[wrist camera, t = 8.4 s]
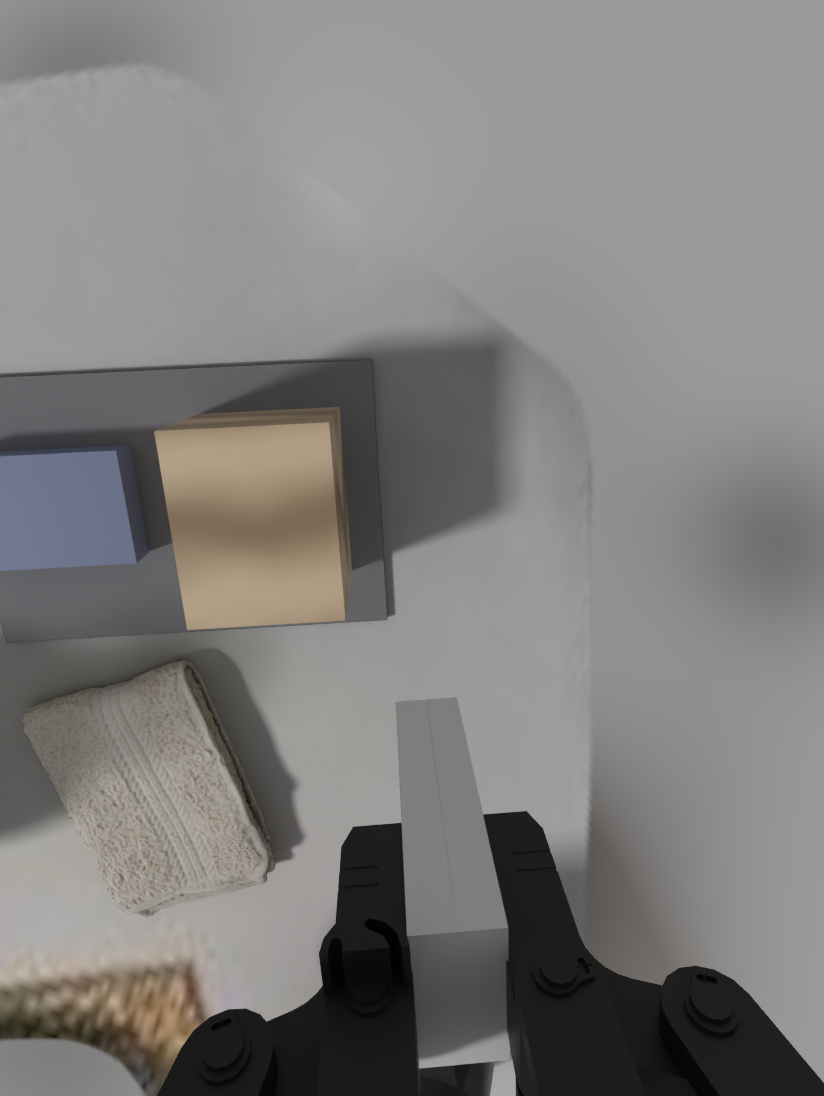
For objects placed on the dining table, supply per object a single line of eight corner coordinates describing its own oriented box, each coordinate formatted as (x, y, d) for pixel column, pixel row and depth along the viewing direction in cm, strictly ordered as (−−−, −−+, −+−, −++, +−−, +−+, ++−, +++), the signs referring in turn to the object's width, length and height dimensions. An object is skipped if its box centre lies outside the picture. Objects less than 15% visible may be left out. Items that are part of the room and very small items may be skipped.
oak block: (352, 568, 40) (345, 620, 33) (224, 575, 40) (187, 630, 32) (339, 406, 37) (329, 422, 30) (200, 413, 37) (154, 431, 29)
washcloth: (139, 899, 48) (123, 935, 45) (25, 699, 43) (-2, 725, 40) (289, 856, 47) (282, 890, 44) (193, 648, 42) (179, 671, 39)
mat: (387, 617, 41) (387, 620, 41) (9, 639, 41) (6, 642, 40) (371, 359, 36) (371, 360, 36) (-59, 379, 36) (-63, 380, 35)
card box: (-23, 572, 37) (-1, 559, 39) (136, 563, 37) (150, 551, 39) (-53, 459, 35) (-28, 452, 37) (115, 450, 35) (131, 444, 37)
